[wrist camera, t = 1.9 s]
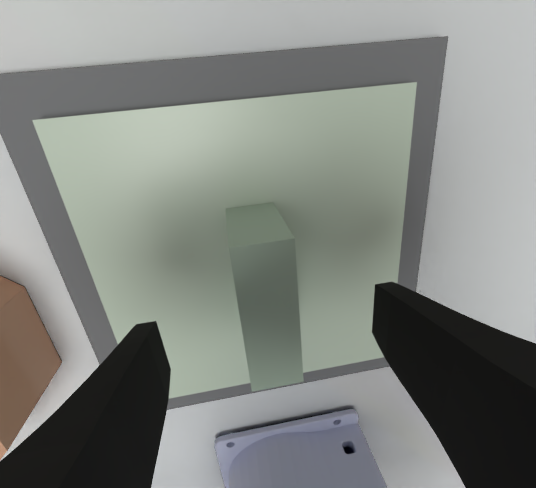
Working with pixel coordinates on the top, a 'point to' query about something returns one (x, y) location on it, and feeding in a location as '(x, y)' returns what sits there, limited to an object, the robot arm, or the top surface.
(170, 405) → the mat
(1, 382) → the bowl
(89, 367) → the top surface
